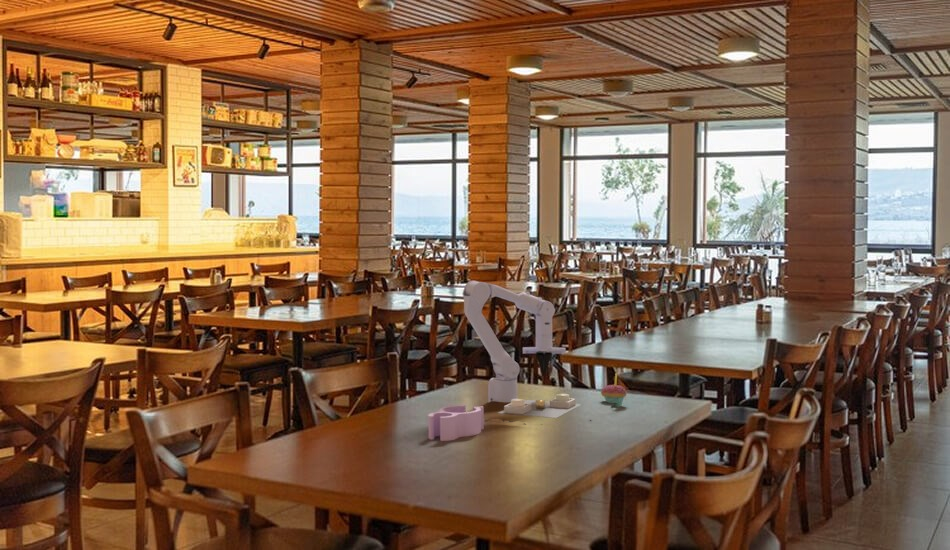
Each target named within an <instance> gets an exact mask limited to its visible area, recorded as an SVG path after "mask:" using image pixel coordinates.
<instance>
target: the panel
mask: <svg viewBox="0 0 950 550" xmlns="http://www.w3.org/2000/svg"><path fill="white" fill-rule="evenodd" d="M524 400H525V406H524V407H514V406H511V402H509V403H508V404H506V405H504V406H503V409H502V410H500V411H497V414H505V415H516V416H527V417H541V418H549V419H550V418H552V419H556V418H559V417H560V416H563V415H565V414H566V413H568V412H570V411H572V410H574V409H576V408H579V407H580V406H582V403H576V400H577V399H576V398H573V397H572V398H570V397H569V401H568V402H564V401H556V397H554V398H552V399H550V400H549V401H546V400H545V409H536V400H533V399H531V400H530V399H524Z"/></svg>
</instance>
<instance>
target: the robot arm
mask: <svg viewBox="0 0 950 550" xmlns="http://www.w3.org/2000/svg"><path fill="white" fill-rule="evenodd" d="M462 297H463V311H464V315H465V317H466V318H467V320H468V321H469V324H471V327H472V328H473V330H474V332H475V333H476V334H477V335H476V336H478V339H480V341H481V343H482V344H483V346H484V348H485V349H486V351H487V352H488V355H489V357H490V361H491V363H492V367H493V368H492V369H493V371H494V373H495V374H496V375H495V377H491V378H490V379H489V381H488V385H487V388H488V389H487V393H488V395H487V396H488V397H487V400H488V401H487V403H488V404H489V403H491V402H498V403H511V400H512V399H518V375H519V374H520V371H521V368H520V365H519V363H518V362H516V361H515V360H514V359H513V358H512V357H511V356H510V354H509V353H508V352H507V351H506V350H505V349H504V347H503V345H502V343H501V342H500V341H499V339H498V338H497V335H496V334H495V332H494V331H493V329H492V327H491V325H490V324H489V322H488V321H487V319H486V318H485V316H484V314H483V313H482V311H483V309H484V305H485V304H486V302H487V301H488V299H489V298H492V299H493V298H494V297H497V298H500V299H503V300H506V301H508V302H512V303H514V304H515V307H516V308H517V309H519V310H522V311H525V312H527V313H531V314H534V316H535V346H527V347H526V346H525V347H524V346H523V347H522V354H535V358H536V360H537V362H538V365H539V367H540V370H541V375H542V376H547V372H548V367H549V364H550V361H551V358H552V357H553V355H554V354H555V355H556V354H557V355H565V354H566V347H558V346H557V347H553V316H554V315H555V312H556V308H555V305H554V304H553V303H552V302H551V301H550V300H549V301H548V300H545V299H543V297H541V296H538V297H537V296H534V295H532V294H531V292H529V291H525V292H524V291H522V292H520V293H516V292H513V291H512V290H510V289H507V288H504V287H503V286H499V285H497V284H492V283H487V282H483V281H477V280H470V281H468V282H466V284H465V285H464V287H463V290H462Z"/></svg>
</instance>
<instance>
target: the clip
mask: <svg viewBox="0 0 950 550" xmlns="http://www.w3.org/2000/svg"><path fill="white" fill-rule="evenodd" d="M466 408H467V407H466V404H462V403H461V404H460V405H447V406H443V407H440V408H438V411H437V412H431V413H428V416H427V419H428V426H427V427H428V439H429V440H435V438H436V437H440V438H439V439H440V441H441V442H447V441H454V440H456V439H459V438H461V437H471V436H476V435H478V434H479V435H480V434H481V433H482V430H484V425H485V423H484V422H485V421H484V419H485V418H484V417H485V416H484V414H485V413H484V410H485V409H484V406H483V405H481V406H480V405H479V406H473V408H472V409H473V410H472V411H467V410H466ZM466 411H467V412H466Z"/></svg>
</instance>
